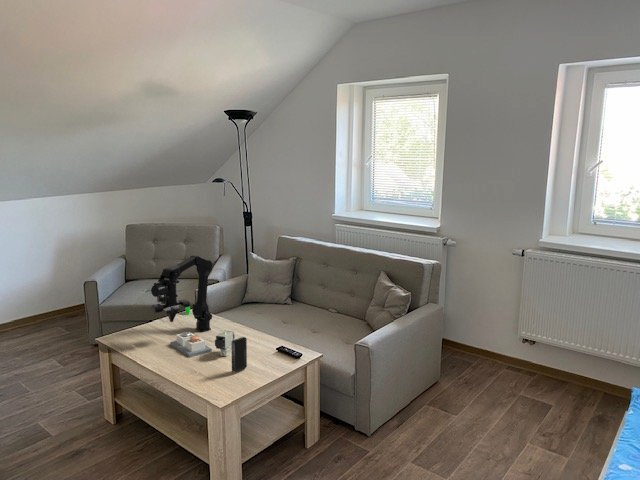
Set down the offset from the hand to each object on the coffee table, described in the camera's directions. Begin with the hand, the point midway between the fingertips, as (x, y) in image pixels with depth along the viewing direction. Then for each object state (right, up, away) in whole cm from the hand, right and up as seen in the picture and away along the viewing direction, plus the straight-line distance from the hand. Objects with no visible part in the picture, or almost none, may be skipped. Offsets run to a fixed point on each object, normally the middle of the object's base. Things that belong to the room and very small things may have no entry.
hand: (171, 322), depth 255 cm
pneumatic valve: (+30, -15, -12) cm, 35 cm away
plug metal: (+8, -11, 0) cm, 13 cm away
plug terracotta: (+14, -11, -7) cm, 19 cm away
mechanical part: (-3, -5, +52) cm, 52 cm away
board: (+11, -13, -3) cm, 17 cm away
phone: (+40, -17, -29) cm, 52 cm away
